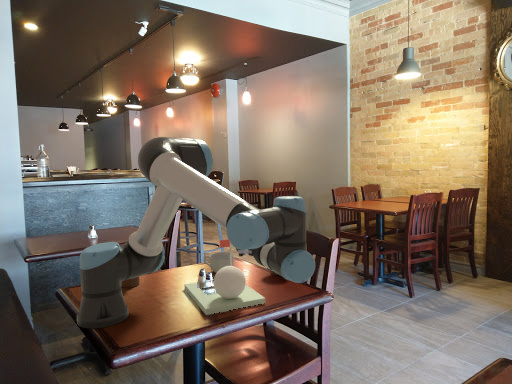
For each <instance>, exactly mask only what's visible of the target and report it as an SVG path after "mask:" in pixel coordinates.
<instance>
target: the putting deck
mask: <svg viewBox="0 0 512 384" xmlns="http://www.w3.org/2000/svg"><path fill="white" fill-rule="evenodd" d="M219 248H221V249H223V248H229V253H230V266H234V263H233V264H232V254H233V245H232V244H231V241H230V239H228V238H227V239H219ZM197 282H198V281H197ZM197 282H190V283H184V287H183V288H184V290H185V292H186V293H187V294H188V295H189V297H191V299H192V300H193V302H195V304H196V305H197V306H198V307H199V309H200V310H201V311H202V312H203V313H204V315H205V316H209V315H215V314H218V313H219V312H220V313H226V312H230V311H229V310H231V311H234V310H233V309H236V310H239V309H238V308H241V309H244V308H243V307H246V308H249V307H248V306H251V307H255V306H254V305H256V306H259V305H258V304H262V305H265V304H266V297H265V296H264V295H261V294H260V293H259V292H258V291H256V290H255V289H254V288H252V287H250V286H249V285H248V284H245V288H244V290H243V292H242V293H241V294H240V295H239V296H237V297H236V298H232V299H227V298H223V297H221V296H220V295H219V294H218V293H217V292H216V293H211V294H206V293H205V292H204V291H203V289H200V288H197ZM264 303H265V304H264ZM214 313H215V314H214Z"/></svg>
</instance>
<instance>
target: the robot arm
mask: <svg viewBox="0 0 512 384" xmlns="http://www.w3.org/2000/svg"><path fill="white" fill-rule="evenodd" d="M137 165H138V168H139V171H140V173H141V174H142V175H143V177H144V178H145V179H146V180H148V181H149V182H150V183H152V185H153V186H156V188H155V191H154V193H153V196H152V197H151V200H150V202H149V204H148V206H147V208H146V211H145V213H144V215H143V217H142V220H141V222H140V224H139V226H138V228H137V230H136V231H134V232H132V233H131V234H130V235H129V236H128V238H127V242H125V243H123V244H120V243H118V242H116V241H107V242H100V243H95V244H93V245H90V246H88V247H86V248H84V249H83V250H82V251H81V252H80V255H79V264H78V265H79V272H80V288H81V299H80V300H81V301H80V304H79V306H78V307H79V308H78V312H77V314H76V325H78V327H80V328H82V329H83V328H84V329H102V328H107V327H112V326H114V325H118V324H120V323H122V322H124V321H125V320H126V319H128V317H129V316H130V315H129V306H128V305H127V303H126V300H125V297H124V294H123V291H122V289H123V287H121V281H124V280H127V279H131V278H135V277H139V278H140V277H142V276H146V275H150V274H153V273H155V272H157V271H158V270H160V268H161V267H162V266H163V264H164V262H165V259H166V257H165V254H166V252H165V247H164V243H163V239H164V237H165V236H166V234H167V231H168V229H169V227H170V226H171V223H172V222H173V219H174V218H175V216H176V213H177V211H178V209H179V208H180V206H181V204H182V201H185V202H186V203H187V204H189V205H190V206H191V207H193V208H195V209H196V210H197V211H199V212H201V213H202V214H203V215H205V216H206V217H207V218H209V219H211V220H212V221H213V222H215V223H216V224H218V225H219V226H221V228H224V230H226V236H227V239H230V241H231V244H232V247H234V248H235V250H236V252H237V253H238V257H243V256H246V254H248V256H250V257H253V258H254V260H255V261H256V262H257V264H259V265H260V266H262V267H264V268H266V269H268V270H271V272H272V271H273V272H275V273H277V274H279V276H280V277H282V278H283V279H285V280H287V281H291V282H293V283H296V284H302V283H305V282H307V281H308V280H310V278H312V277H313V275H314V272H315V270H316V260H315V259H314V257H313V255H312V254H311V253H310V252H309V251H308V250H307V211H306V210H307V208H306V201H305V200H306V199H305V198H303V197H302V196H295V195H294V196H293V195H290V196H289V195H287V196H285V195H284V196H278V197H275V198H274V199H273V202H272V203H273V205H272V207H269V208H264V209H260V208H258V207H256V206H255V205H253V204H251V203H249V202H248V201H247V200H244V199H242V198H241V197H240V196H238V195H236V194H235V193H233V192H231V191H229V190H228V189H226V188H225V187H224V186H222V185H220V184H218V183H217V182H216V181H214V180H212V179H210V178H209V177H208V176H209V175H210V174H211V173H212V170H213V167H214V157H213V152H212V150H211V148H210V145H208V143H206V141H203V140H202V139H199V138H198V139H196V138H193V137H188V138H186V137H185V138H182V137H167V136H158V137H154V138H151V139H149V140H148V141H146V142H145V143H144V144H143V145H142V146H141V148H140V150H139V152H138V155H137Z"/></svg>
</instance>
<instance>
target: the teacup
mask: <svg viewBox="0 0 512 384" xmlns="http://www.w3.org/2000/svg"><path fill="white" fill-rule="evenodd" d="M207 258H208V259H209V261H207ZM202 260H203V262H204V264H205V265H207V266H208V267H209V268H210V270H211V271H212V272H214V273H215V274H216V273H217V272H218V271H219V270H220V269H221V268H223V267H225V266H230V251H219V252H214V253H211V254H205V255H204V256H203V259H202ZM232 264H233V265H234V254H233V253H232Z"/></svg>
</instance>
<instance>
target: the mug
mask: <svg viewBox="0 0 512 384" xmlns="http://www.w3.org/2000/svg"><path fill="white" fill-rule="evenodd" d="M139 285H140V276H139V277H135V278H131V279H127V280H124V281H121V288H122V289H123V288H125V289H127V288H128V289H129V288H135V287H137V286H139Z"/></svg>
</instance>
